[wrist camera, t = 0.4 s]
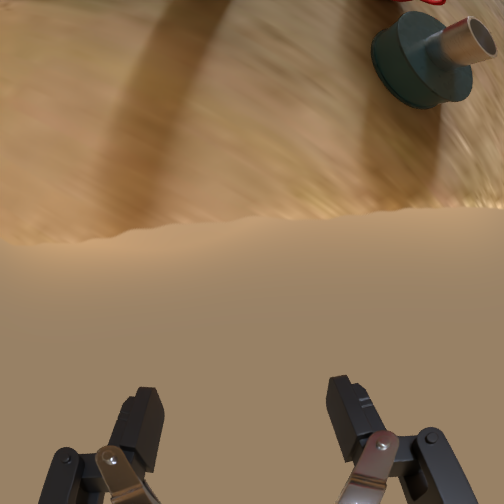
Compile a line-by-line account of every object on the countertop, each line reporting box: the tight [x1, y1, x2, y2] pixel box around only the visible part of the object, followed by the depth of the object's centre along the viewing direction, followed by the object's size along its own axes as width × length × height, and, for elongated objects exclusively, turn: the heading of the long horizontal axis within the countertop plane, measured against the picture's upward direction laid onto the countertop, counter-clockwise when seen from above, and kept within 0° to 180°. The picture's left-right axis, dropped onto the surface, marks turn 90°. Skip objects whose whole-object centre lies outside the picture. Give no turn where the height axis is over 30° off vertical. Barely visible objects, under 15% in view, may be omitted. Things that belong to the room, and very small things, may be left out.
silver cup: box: [425, 16, 497, 71], centre depth 19 cm, size 6×6×10 cm
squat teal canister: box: [371, 11, 473, 109], centre depth 28 cm, size 16×16×9 cm
